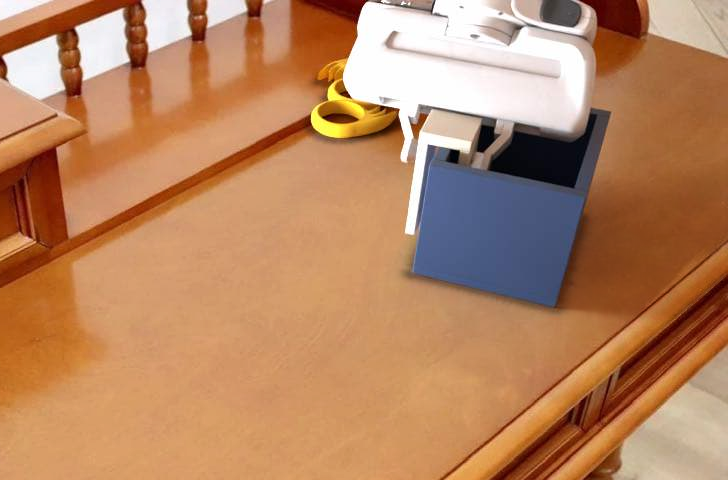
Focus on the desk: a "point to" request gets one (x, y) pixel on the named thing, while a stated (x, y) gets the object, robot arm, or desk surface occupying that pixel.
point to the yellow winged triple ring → (347, 108)
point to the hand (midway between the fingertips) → (442, 169)
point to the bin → (508, 213)
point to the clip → (435, 132)
